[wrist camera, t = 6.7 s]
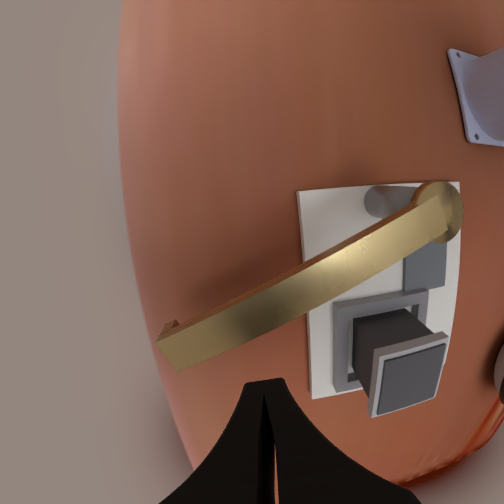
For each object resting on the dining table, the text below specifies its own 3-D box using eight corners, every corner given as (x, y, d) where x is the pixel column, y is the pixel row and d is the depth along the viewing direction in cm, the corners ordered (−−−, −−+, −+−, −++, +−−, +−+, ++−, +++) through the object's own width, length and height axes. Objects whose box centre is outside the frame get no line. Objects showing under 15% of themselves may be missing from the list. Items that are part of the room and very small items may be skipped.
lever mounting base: (451, 181, 18) (516, 186, 11) (438, 358, 21) (480, 402, 14) (296, 191, 18) (324, 194, 11) (309, 391, 21) (328, 455, 14)
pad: (443, 235, 18) (447, 236, 17) (441, 284, 18) (444, 285, 18) (403, 241, 18) (405, 242, 17) (402, 292, 18) (404, 294, 18)
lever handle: (447, 221, 12) (469, 226, 10) (189, 358, 14) (183, 380, 12) (430, 172, 12) (453, 172, 10) (159, 315, 13) (148, 333, 11)
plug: (408, 303, 19) (451, 338, 13) (402, 357, 20) (436, 399, 14) (348, 315, 19) (381, 358, 13) (347, 370, 20) (372, 420, 14)
